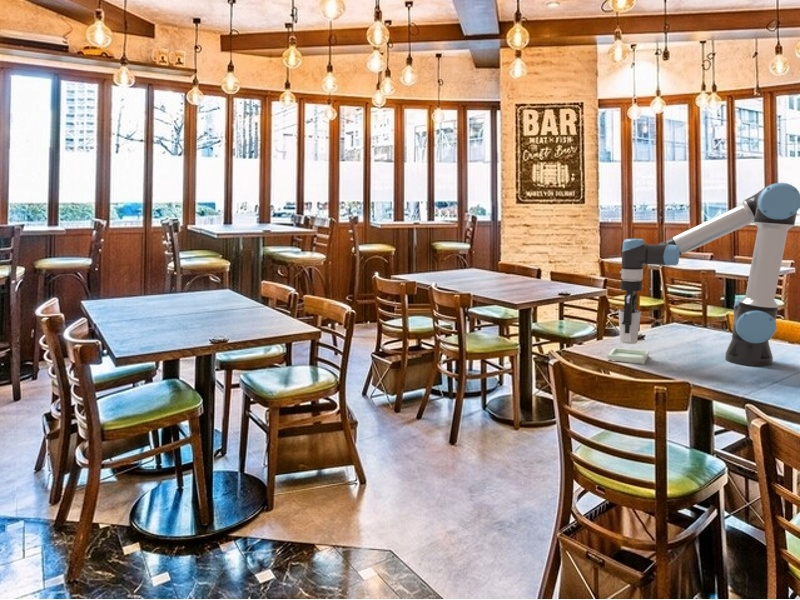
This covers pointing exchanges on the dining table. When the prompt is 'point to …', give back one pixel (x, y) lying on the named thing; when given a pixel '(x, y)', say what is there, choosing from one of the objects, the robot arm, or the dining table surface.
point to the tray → (628, 355)
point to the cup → (635, 326)
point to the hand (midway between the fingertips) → (628, 339)
